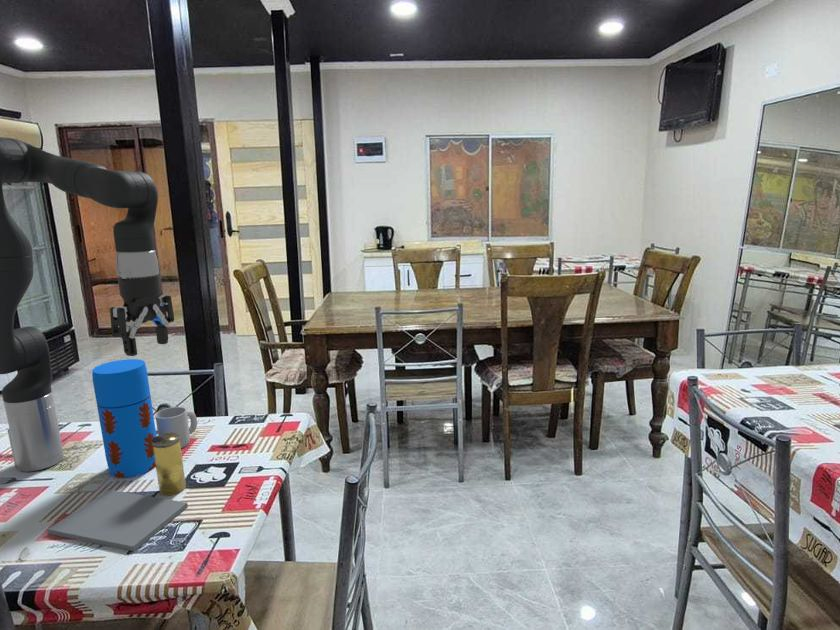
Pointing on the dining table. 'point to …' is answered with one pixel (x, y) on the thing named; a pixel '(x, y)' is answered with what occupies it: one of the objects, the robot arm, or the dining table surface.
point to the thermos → (125, 416)
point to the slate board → (119, 519)
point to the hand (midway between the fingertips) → (147, 349)
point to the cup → (176, 423)
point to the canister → (169, 463)
